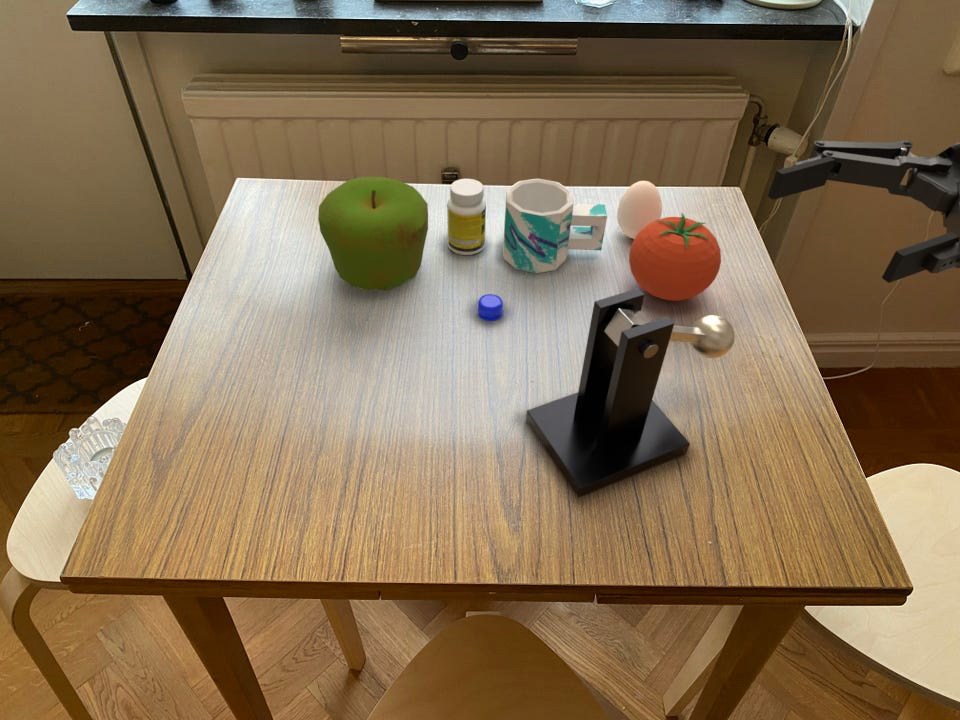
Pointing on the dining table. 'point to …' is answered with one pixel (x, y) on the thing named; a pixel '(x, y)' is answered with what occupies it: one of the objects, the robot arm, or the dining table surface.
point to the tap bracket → (612, 405)
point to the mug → (548, 225)
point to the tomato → (675, 258)
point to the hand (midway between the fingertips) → (829, 223)
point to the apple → (374, 231)
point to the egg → (638, 208)
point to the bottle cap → (490, 307)
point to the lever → (681, 332)
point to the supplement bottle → (466, 217)
